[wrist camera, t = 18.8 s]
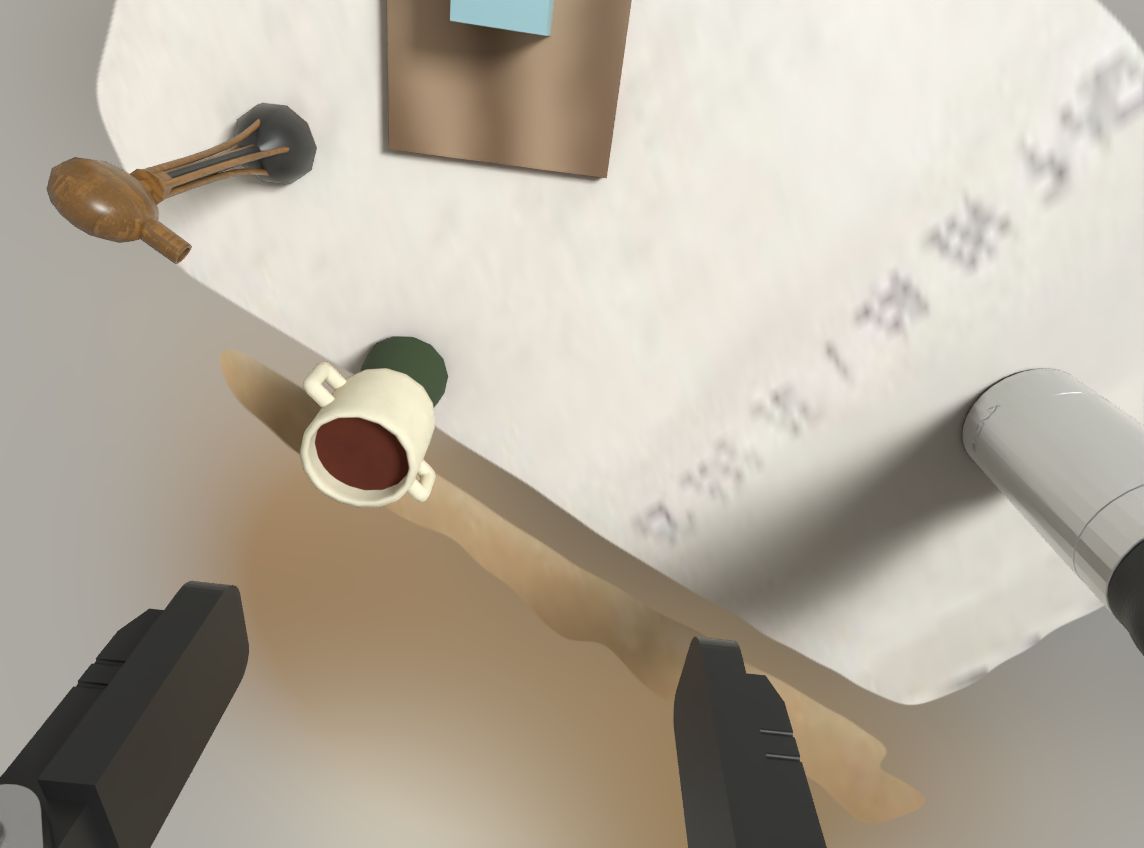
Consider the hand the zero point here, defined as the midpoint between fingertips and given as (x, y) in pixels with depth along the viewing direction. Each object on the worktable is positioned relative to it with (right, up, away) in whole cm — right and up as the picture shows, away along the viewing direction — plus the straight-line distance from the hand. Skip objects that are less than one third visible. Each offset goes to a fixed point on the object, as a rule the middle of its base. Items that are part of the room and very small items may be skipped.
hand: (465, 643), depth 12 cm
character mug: (-11, +8, +40) cm, 42 cm away
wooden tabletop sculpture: (-17, +22, +32) cm, 42 cm away
